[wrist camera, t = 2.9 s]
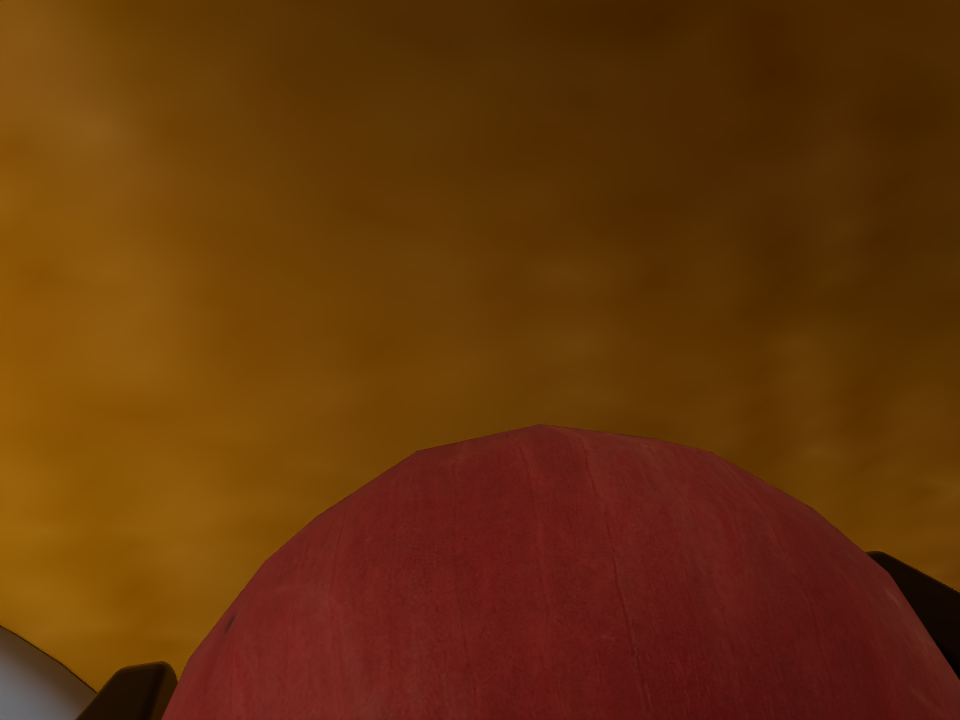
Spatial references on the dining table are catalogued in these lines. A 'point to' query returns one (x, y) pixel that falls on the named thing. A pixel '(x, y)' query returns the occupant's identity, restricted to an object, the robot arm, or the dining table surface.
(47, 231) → the dining table surface
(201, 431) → the dining table surface
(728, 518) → the onion
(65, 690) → the plate
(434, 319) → the dining table surface
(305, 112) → the dining table surface
